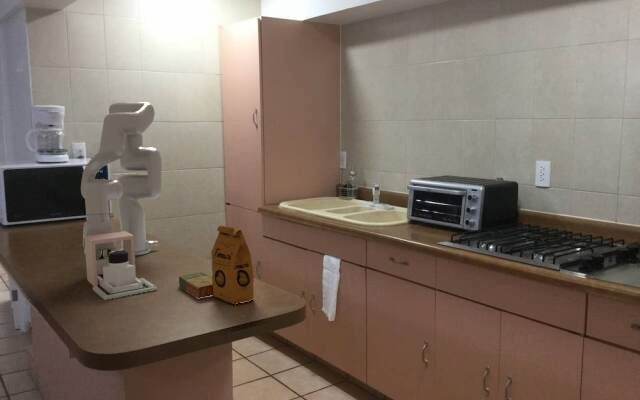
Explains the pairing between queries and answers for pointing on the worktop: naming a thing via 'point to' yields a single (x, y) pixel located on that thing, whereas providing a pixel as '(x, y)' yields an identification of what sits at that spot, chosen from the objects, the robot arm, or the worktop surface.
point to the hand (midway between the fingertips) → (101, 268)
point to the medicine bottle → (119, 269)
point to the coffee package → (232, 267)
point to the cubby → (104, 238)
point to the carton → (197, 284)
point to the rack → (107, 286)
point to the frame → (147, 283)
